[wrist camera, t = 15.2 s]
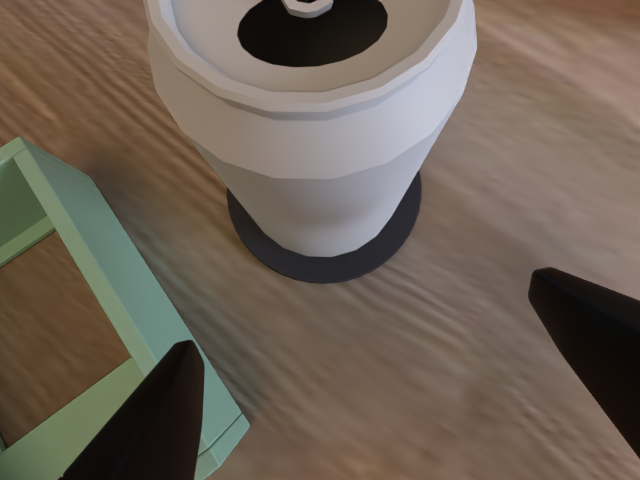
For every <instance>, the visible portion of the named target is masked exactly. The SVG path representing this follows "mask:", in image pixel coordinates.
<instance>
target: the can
mask: <svg viewBox="0 0 640 480" xmlns="http://www.w3.org/2000/svg"><path fill="white" fill-rule="evenodd" d="M143 2H144V6H145V11H146V16H147V20H148V25H149V29H150V30H149V37H148V43H147V51H148V56H149V61H150V66H151V70H152V75H153V80H154V85H155V90H156V92H157V94H158V95H159V97H160V98H161V100H162V101H163V103H164V104H165V106H166V108H167V109H168V111H169V112H170V114H171V115H172V117H173V118H174V120H175V121H176V123H177V124H178V126H179V127H180V129H181V131H182V132H183V133H184V134H185V135H186V137H187V138H188V139H189V140H190V142H191V143H192V144H193V145H194V147H195V148H196V149H197V150H198V152H199V153H200V154H201V155H202V157H203V158H204V159H205V160H206V161H207V163H208V164H209V165H210V166H211V168H212V169H213V170H214V171H215V173H216V174H217V175H218V176H219V178H220V179H221V180H222V181H223V183H224V184H225V185H226V186H227V187H228V189H229V190H230V191H231V192H232V194H233V195H234V196H235V197H236V199H237V200H238V201H239V202H240V204H241V205H242V206H243V207H244V209H245V210H246V211H247V212H248V213H249V215H250V216H251V217H252V218H253V220H254V221H255V222H256V223H257V225H258V226H259V227H260V228H261V230H262V231H263V232H264V233H265V234H266V235H267V236H269V237H270V238H271V239H273V240H274V241H275V242H276V243H278V244H279V245H280V246H282V247H283V248H285V249H288V250H291V251H294V252H296V253H299V254H302V255H305V256H317V257H333V256H337V255H340V254H344V253H347V252H351V251H354V250H357V249H358V248H360V247H361V246H363V245H364V244H366V243H367V242H369V241H370V240H371V239H373V238H374V237H376V236H377V235H378V234H379V232H380V231H381V230H382V228H383V227H384V226H385V224H386V223H387V222H388V220H389V219H390V218H391V216H392V215H393V213H394V211H395V210H396V208H397V206H398V204H399V203H400V201H401V199H402V197H403V196H404V194H405V192H406V191H407V189H408V187H409V185H410V184H411V182H412V180H413V179H414V177H415V175H416V173H417V172H418V170H419V168H420V166H421V165H422V163H423V161H424V160H425V158H426V156H427V154H428V153H429V151H430V149H431V148H432V146H433V144H434V142H435V141H436V139H437V137H438V135H439V134H440V132H441V130H442V129H443V127H444V125H445V123H446V122H447V120H448V118H449V117H450V115H451V113H452V111H453V110H454V108H455V106H456V104H457V103H458V101H459V99H460V98H461V96H462V94H463V92H464V89H465V85H466V82H467V79H468V76H469V73H470V69H471V66H472V63H473V60H474V56H475V53H476V50H477V40H476V26H475V13H474V3H473V1H472V0H143Z"/></svg>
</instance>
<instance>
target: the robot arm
mask: <svg viewBox="0 0 640 480" xmlns="http://www.w3.org/2000/svg"><path fill="white" fill-rule="evenodd" d="M528 297H529V301H530V303H531V305H532V306H533V308H534V310H535V311H536V313H537V315H538V316H539V318H540V320H541V321H542V323H543V325H544V326H545V328H546V330H547V331H548V333H549V335H550V336H551V338H552V340H553V341H554V343H555V345H556V346H557V348H558V349H559V351H560V352H561V354H562V355H563V357H564V358H565V360H566V361H567V362H568V364H569V365H570V366H571V368H572V369H573V370H574V372H575V373H576V374H577V376H578V377H579V378H580V380H581V381H582V382H583V384H584V385H585V386H586V388H587V389H588V390H589V392H590V393H591V394H592V396H593V397H594V398H595V400H596V401H597V402H598V404H599V405H600V406H601V408H602V409H603V410H604V412H605V413H606V414H607V416H608V417H609V418H610V420H611V421H612V422H613V424H614V425H615V426H616V428H617V429H618V430H619V432H620V433H621V434H622V436H623V437H624V438H625V440H626V441H627V443H628V444H629V445H630V447H631V448H632V449H633V451H634V452H635V453H636V455H637V456H638V457H639V459H640V301H639V300H637V299H634V298H631V297H629V296H626V295H623V294H621V293H618V292H616V291H613V290H610V289H608V288H605V287H602V286H600V285H597V284H595V283H592V282H589V281H587V280H584V279H581V278H579V277H576V276H574V275H571V274H568V273H566V272H563V271H560V270H558V269H555V268H552V267H547V268H542V269H537V270H535V271H534V272H533V273H532V277H531V282H530V287H529V292H528ZM204 376H205V365H204V360H203V358H202V356H201V354H200V352H199V350H198V348H197V346H196V345H195V343H194V341H192V340H185V341H180V342H177V343H175V344H174V345H173V346H172V347H171V348H170V349H169V351H168V352H167V353H166V354H165V355H164V356H163V358H162V359H161V360H160V361H159V362H158V363H157V365H156V366H155V367H154V368H153V369H152V370H151V372H150V373H149V374H148V375H147V376H146V377H145V379H144V380H143V381H142V382H141V383H140V384H139V386H138V387H137V388H136V389H135V390H134V391H133V392H132V394H131V395H130V396H129V397H128V398H127V399H126V401H125V402H124V403H123V404H122V405H121V406H120V408H119V409H118V410H117V411H116V412H115V413H114V415H113V416H112V417H111V418H110V419H109V420H108V422H107V423H106V424H105V425H104V426H103V427H102V429H101V430H100V431H99V432H98V433H97V434H96V436H95V437H94V438H93V439H92V440H91V441H90V443H89V444H88V445H87V446H86V447H85V448H84V450H83V451H82V452H81V453H80V454H79V455H78V457H77V458H76V459H75V460H74V461H73V462H72V463H71V465H70V466H69V467H68V468H67V469H66V470H65V472H64V473H63V477H59V478H58V480H194V477H195V470H196V464H197V457H198V451H199V445H200V438H201V431H202V420H203V399H204Z"/></svg>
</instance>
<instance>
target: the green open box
mask: <svg viewBox="0 0 640 480" xmlns="http://www.w3.org/2000/svg"><path fill="white" fill-rule="evenodd" d="M55 230H56V231H57V233H58V234H59V236H60V238H61V239H62V241H63V243H64V244H65V246H66V248H67V249H68V251H69V253H70V254H71V256H72V258H73V259H74V261H75V263H76V264H77V266H78V268H79V270H80V271H81V273H82V275H83V276H84V278H85V280H86V281H87V283H88V285H89V286H90V288H91V290H92V291H93V293H94V295H95V296H96V298H97V300H98V301H99V303H100V305H101V307H102V308H103V310H104V312H105V313H106V315H107V317H108V318H109V320H110V322H111V323H112V325H113V327H114V328H115V330H116V332H117V333H118V335H119V337H120V338H121V340H122V342H123V344H124V345H125V347H126V349H127V350H128V352H129V354H130V355H131V358H129V359H128V360H127V361H125V362H124V363H123V364H121V365H120V366H119V367H117V368H116V369H114V370H113V371H112V372H110V373H109V374H108V375H106V376H105V377H104V378H102V379H101V380H100V381H98V382H97V383H95V384H94V385H93V386H91V387H90V388H89V389H87V390H86V391H85V392H83V393H82V394H81V395H79V396H78V397H76V398H75V399H74V400H72V401H71V402H70V403H68V404H67V405H66V406H64V407H63V408H62V409H60V410H59V411H57V412H56V413H55V414H53V415H52V416H51V417H49V418H48V419H47V420H45V421H44V422H43V423H41V424H40V425H38V426H37V427H36V428H34V429H33V430H32V431H30V432H29V433H28V434H26V435H25V436H24V437H22V438H21V439H19V440H18V441H17V442H15V443H14V444H13V445H11V446H10V447H9V448H7V449H6V447H5V445H4V443H3V441H2V438H1V436H0V480H58V478H59V477H63V473H64V472H65V470H66V469H67V468H68V467H69V466H70V465H71V463H72V462H73V461H74V460H75V459H76V458H77V457H78V455H79V454H80V453H81V452H82V451H83V450H84V448H85V447H86V446H87V445H88V444H89V443H90V441H91V440H92V439H93V438H94V437H95V436H96V434H97V433H98V432H99V431H100V430H101V429H102V427H103V426H104V425H105V424H106V423H107V422H108V420H109V419H110V418H111V417H112V416H113V415H114V413H115V412H116V411H117V410H118V409H119V408H120V406H121V405H122V404H123V403H124V402H125V401H126V399H127V398H128V397H129V396H130V395H131V394H132V392H133V391H134V390H135V389H136V388H137V387H138V386H139V384H140V383H141V382H142V381H143V380H144V379H145V377H146V376H147V375H148V374H149V373H150V372H151V370H152V369H153V368H154V367H155V366H156V365H157V363H158V362H159V361H160V360H161V359H162V358H163V356H164V355H165V354H166V353H167V352H168V351H169V349H170V348H171V347H172V346H173V345H174V344H175V343H177V342H180V341H185V340H192V341H194V343H195V345H196V346H197V348H198V350H199V352H200V354H201V356H202V358H203V360H204V365H205V376H204V399H203V420H202V431H201V438H200V445H199V451H198V457H197V464H196V470H195V477H194V480H204V479H205V478H206V477H208V476H209V475H210V474H211V473H213V472H214V471H215V470H216V469H218V468H219V467H220V466H221V464H222V463H223V462H224V460H225V459H226V458H227V457H228V455H229V454H230V453H231V451H232V450H233V449H234V447H235V446H236V445H237V443H238V442H239V441H240V439H241V438H242V437H243V435H244V434H245V433H246V431H247V430H248V429H249V427H250V424H249V422H248V421H247V419H246V418H245V416H244V415H243V414H241V410H240V409H239V407H238V405H237V404H236V402H235V401H234V399H233V398H232V396H231V395H230V393H229V391H228V390H227V388H226V387H225V385H224V384H223V382H222V381H221V379H220V378H219V376H218V374H217V373H216V371H215V370H214V368H213V367H212V365H211V364H210V362H209V360H208V359H207V357H206V356H205V354H204V353H203V351H202V350H201V348H200V346H199V345H198V343H197V342H196V340H195V339H194V337H193V336H192V334H191V332H190V331H189V329H188V328H187V326H186V325H185V323H184V322H183V320H182V318H181V317H180V315H179V314H178V312H177V311H176V309H175V308H174V306H173V304H172V303H171V301H170V300H169V298H168V297H167V295H166V294H165V292H164V290H163V289H162V287H161V286H160V284H159V283H158V281H157V280H156V278H155V277H154V275H153V273H152V272H151V270H150V269H149V267H148V266H147V264H146V263H145V261H144V259H143V258H142V256H141V255H140V253H139V252H138V250H137V249H136V247H135V245H134V244H133V242H132V241H131V239H130V238H129V236H128V235H127V233H126V231H125V230H124V228H123V227H122V225H121V224H120V222H119V221H118V219H117V217H116V216H115V214H114V213H113V211H112V210H111V208H110V207H109V205H108V203H107V202H106V200H105V199H104V197H103V196H102V194H101V193H100V191H99V189H98V188H97V187H96V185H95V183H94V182H93V180H92V179H91V177H89V176H88V175H86V174H84V173H82V172H81V171H79V170H77V169H75V168H74V167H72V166H70V165H69V164H67V163H65V162H63V161H62V160H60V159H58V158H56V157H55V156H53V155H51V154H50V153H48V152H46V151H44V150H43V149H41V148H39V147H38V146H36V145H34V144H32V143H31V142H29V141H27V140H25V139H24V138H22V137H20V136H18V137H16V138H15V139H13V140H12V141H10V142H8V143H7V144H5V145H4V146H2V147H1V148H0V268H1V267H2V266H4V265H5V264H7V263H8V262H9V261H11V260H12V259H14V258H15V257H17V256H18V255H20V254H21V253H23V252H24V251H26V250H27V249H29V248H30V247H32V246H33V245H35V244H36V243H38V242H39V241H41V240H42V239H43V238H45V237H46V236H48V235H49V234H51V233H52V232H54V231H55Z"/></svg>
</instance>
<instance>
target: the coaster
mask: <svg viewBox="0 0 640 480" xmlns="http://www.w3.org/2000/svg"><path fill="white" fill-rule="evenodd" d="M227 200H228V208H229V212H230V216H231V220H232V222H233V225H234V227H235V229H236V232H237V233H238V235H239V237H240V238H241V240H242V242H243V243H244V244H245V246H246V247H247V248H248V249H249V251H250V252H251V253H252V254H253V255H254V256H255V257H256V258H258V259H259V260H260V261H261V262H262V263H264V264H265V265H266V266H268V267H269V268H271V269H272V270H274V271H276V272H278V273H280V274H282V275H284V276H287V277H289V278H292V279H295V280H299V281H304V282H308V283H320V284H324V283H337V282H343V281H348V280H351V279H354V278H358V277H361V276H363V275H365V274H367V273H369V272H371V271H373V270H374V269H376V268H378V267H379V266H381V265H382V264H384V263H385V262H386V261H387V260H388V259H389V258H391V257H392V256H393V255H394V254H395V253H396V252H397V250H398V249H399V248H400V247H401V246H402V245H403V243H404V242H405V240H406V239H407V237H408V236H409V234H410V232H411V230H412V228H413V226H414V224H415V221H416V218H417V215H418V212H419V207H420V202H421V179H420V173H419V170H418V172H417V173H416V175H415V177H414V179H413V180H412V182H411V184H410V185H409V187H408V189H407V191H406V192H405V194H404V196H403V197H402V199H401V201H400V203H399V204H398V206H397V208H396V210H395V211H394V213H393V215H392V216H391V218H390V219H389V220H388V222H387V223H386V224H385V226H384V227H383V228H382V230H381V231H380V232H379V234H378V235H377V236H376V237H374V238H373V239H371V240H370V241H369V242H367V243H366V244H364V245H363V246H361V247H360V248H358V249H357V250H354V251H351V252H347V253H344V254H340V255H337V256H333V257H317V256H305V255H302V254H299V253H296V252H294V251H291V250H288V249H285V248H283V247H282V246H280V245H279V244H278V243H276V242H275V241H274V240H273V239H271V238H270V237H269V236H267V235H266V234H265V233H264V232H263V231H262V230H261V228H260V227H259V226H258V225H257V223H256V222H255V221H254V220H253V218H252V217H251V216H250V215H249V213H248V212H247V211H246V210H245V209H244V207H243V206H242V205H241V204H240V202H239V201H238V200H237V199H236V197H235V196H234V195H233V194H232V192H231V191H230V190H229V189H228V187H227Z"/></svg>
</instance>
